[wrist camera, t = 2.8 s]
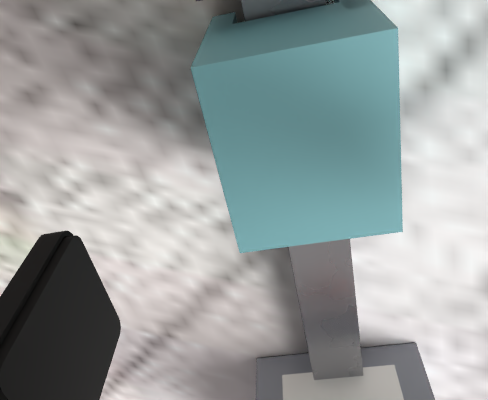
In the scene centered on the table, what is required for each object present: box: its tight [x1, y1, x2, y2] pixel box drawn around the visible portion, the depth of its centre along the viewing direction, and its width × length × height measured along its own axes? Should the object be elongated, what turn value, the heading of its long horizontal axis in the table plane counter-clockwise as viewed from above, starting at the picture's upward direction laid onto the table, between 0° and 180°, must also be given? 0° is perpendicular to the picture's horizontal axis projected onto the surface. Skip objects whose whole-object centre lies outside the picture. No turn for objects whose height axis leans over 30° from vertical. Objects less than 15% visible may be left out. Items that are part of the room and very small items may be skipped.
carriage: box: [191, 0, 403, 253], centre depth 15 cm, size 6×5×6 cm
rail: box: [196, 0, 363, 380], centre depth 20 cm, size 21×5×3 cm, turn 11°
